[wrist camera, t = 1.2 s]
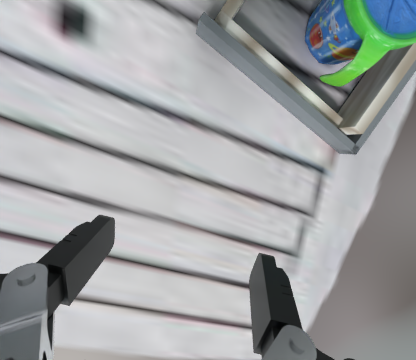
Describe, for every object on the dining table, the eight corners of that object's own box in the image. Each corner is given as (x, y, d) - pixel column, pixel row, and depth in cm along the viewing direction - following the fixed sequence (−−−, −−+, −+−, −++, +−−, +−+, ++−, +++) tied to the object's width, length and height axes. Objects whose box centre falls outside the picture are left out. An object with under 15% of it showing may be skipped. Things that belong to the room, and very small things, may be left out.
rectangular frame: (195, 33, 27) (198, 19, 24) (300, -128, 26) (317, -163, 23) (339, 153, 32) (356, 154, 29) (429, 26, 31) (455, 14, 28)
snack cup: (325, -46, 28) (411, -152, 18) (384, 2, 30) (490, -68, 20) (270, 70, 29) (321, 32, 19) (331, 108, 31) (405, 91, 21)
